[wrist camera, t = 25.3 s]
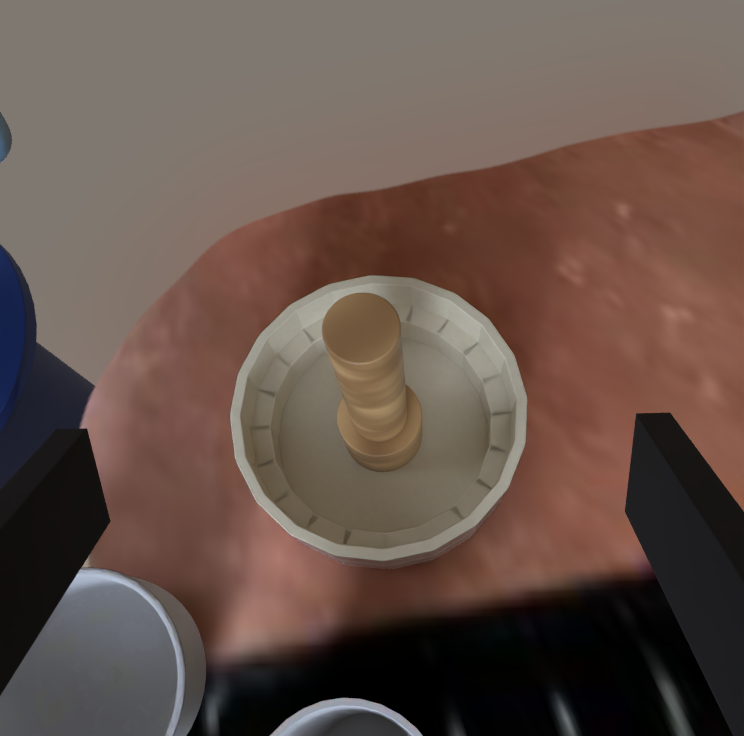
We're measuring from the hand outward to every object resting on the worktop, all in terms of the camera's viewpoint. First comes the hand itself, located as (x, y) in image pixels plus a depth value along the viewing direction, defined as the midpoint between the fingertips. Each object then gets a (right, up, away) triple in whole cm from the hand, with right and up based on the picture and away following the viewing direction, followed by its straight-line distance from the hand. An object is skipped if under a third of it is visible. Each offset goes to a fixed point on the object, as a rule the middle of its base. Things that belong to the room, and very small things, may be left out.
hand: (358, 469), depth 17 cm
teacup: (-15, -16, +23) cm, 31 cm away
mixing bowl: (+1, -2, +27) cm, 27 cm away
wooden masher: (+1, -2, +26) cm, 26 cm away
